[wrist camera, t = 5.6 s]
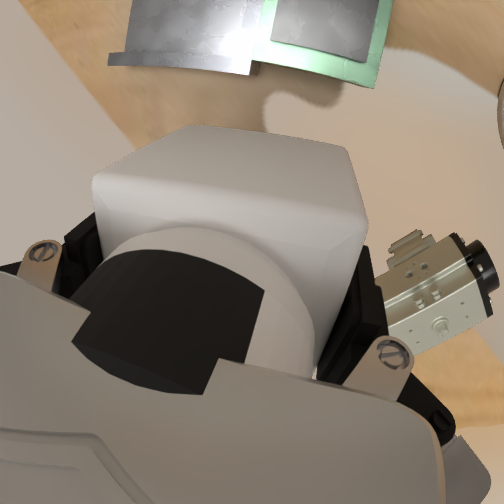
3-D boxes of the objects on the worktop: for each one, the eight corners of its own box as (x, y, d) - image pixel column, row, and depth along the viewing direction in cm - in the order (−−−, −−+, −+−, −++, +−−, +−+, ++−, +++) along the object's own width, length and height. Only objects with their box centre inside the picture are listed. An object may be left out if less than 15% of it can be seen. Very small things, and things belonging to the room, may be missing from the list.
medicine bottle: (186, 253, 17) (65, 450, 7) (187, 122, 13) (-63, 286, 3) (316, 279, 16) (283, 524, 6) (348, 146, 12) (413, 454, 2)
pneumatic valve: (463, 236, 26) (512, 315, 16) (372, 289, 32) (386, 379, 22) (444, 194, 25) (502, 265, 15) (346, 253, 30) (356, 344, 20)
